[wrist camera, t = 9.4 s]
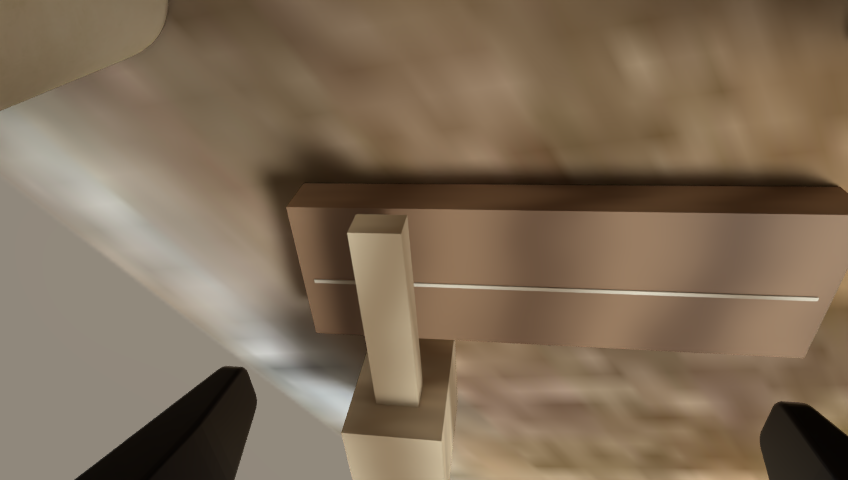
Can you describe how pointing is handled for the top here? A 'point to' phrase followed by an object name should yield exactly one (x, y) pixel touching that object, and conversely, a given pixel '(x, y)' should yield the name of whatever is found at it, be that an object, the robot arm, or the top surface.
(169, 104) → the top surface
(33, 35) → the candle
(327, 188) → the board
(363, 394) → the gauge
